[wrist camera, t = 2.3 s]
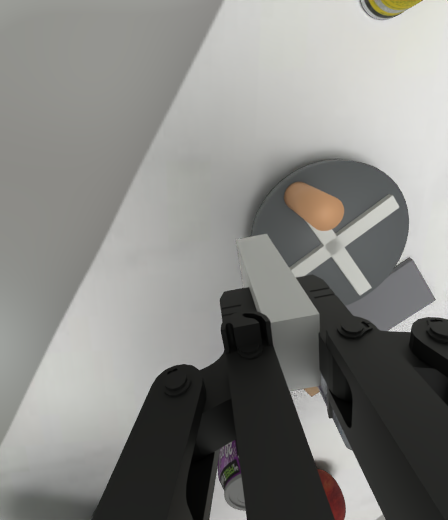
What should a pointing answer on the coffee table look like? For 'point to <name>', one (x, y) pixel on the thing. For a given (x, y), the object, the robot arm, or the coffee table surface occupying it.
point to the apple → (333, 495)
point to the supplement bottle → (387, 7)
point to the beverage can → (231, 475)
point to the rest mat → (394, 297)
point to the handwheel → (337, 225)
